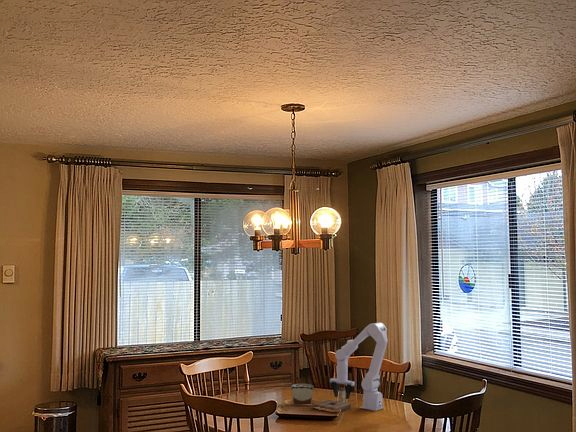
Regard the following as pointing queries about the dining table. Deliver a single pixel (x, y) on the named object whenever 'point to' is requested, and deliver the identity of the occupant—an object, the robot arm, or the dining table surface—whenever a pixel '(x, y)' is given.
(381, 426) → the dining table surface
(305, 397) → the food container
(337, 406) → the holder block
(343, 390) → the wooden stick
